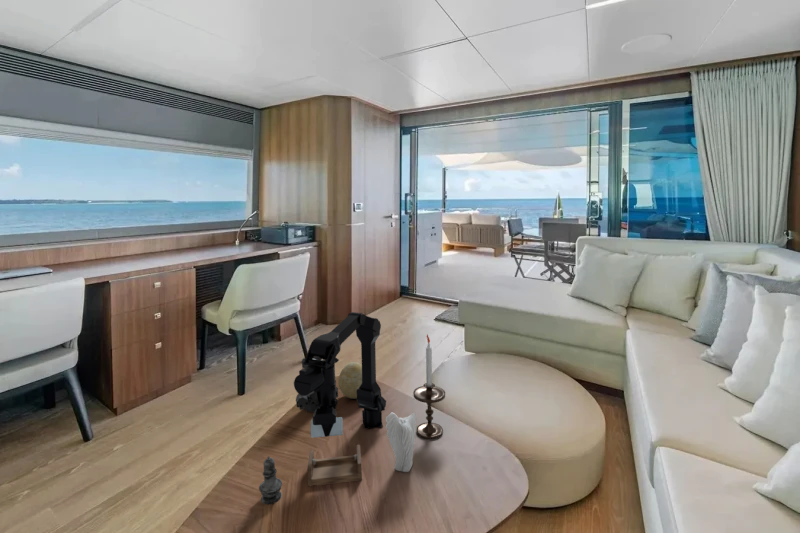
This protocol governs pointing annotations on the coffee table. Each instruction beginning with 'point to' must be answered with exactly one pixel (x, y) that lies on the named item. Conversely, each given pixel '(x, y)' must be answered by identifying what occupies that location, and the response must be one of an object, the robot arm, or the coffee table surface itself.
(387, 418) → the white angel figurine
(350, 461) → the holder
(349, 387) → the fossilized egg
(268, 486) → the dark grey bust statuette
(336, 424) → the roll
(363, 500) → the coffee table surface
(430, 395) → the candlestick
